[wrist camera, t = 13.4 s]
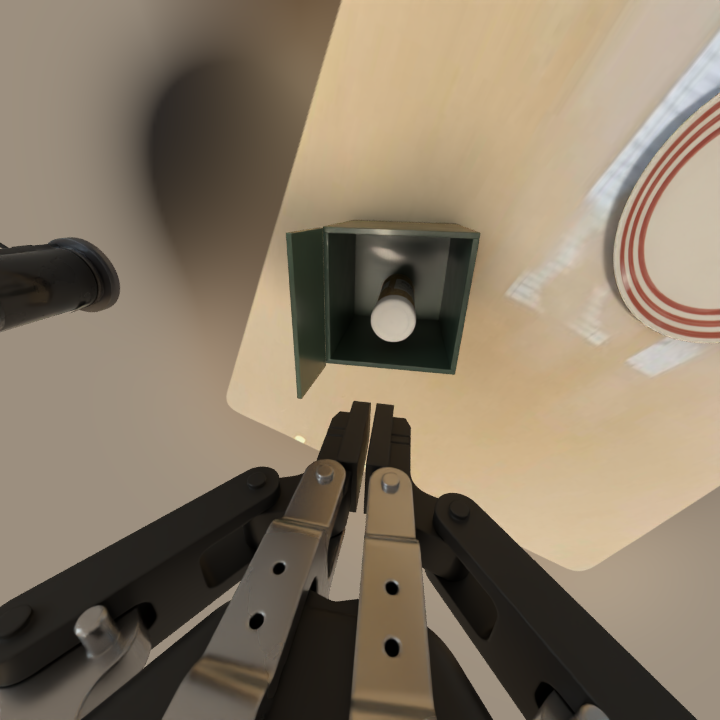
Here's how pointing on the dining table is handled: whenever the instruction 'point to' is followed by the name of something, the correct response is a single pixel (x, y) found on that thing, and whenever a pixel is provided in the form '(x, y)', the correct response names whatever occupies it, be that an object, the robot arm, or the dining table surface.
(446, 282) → the chute
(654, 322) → the dinner plate
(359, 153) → the dining table surface
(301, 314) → the chute flap
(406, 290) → the sprinkles bottle
